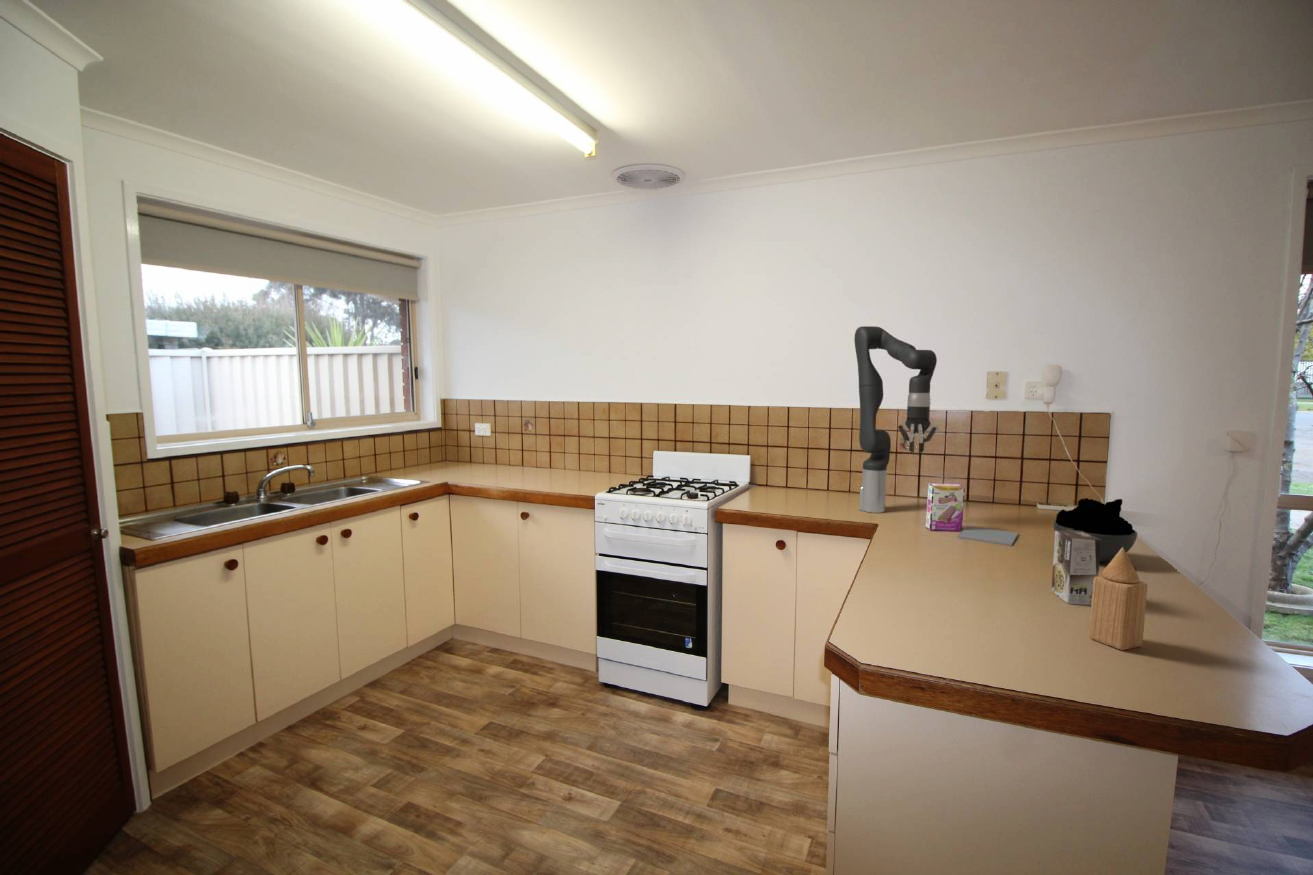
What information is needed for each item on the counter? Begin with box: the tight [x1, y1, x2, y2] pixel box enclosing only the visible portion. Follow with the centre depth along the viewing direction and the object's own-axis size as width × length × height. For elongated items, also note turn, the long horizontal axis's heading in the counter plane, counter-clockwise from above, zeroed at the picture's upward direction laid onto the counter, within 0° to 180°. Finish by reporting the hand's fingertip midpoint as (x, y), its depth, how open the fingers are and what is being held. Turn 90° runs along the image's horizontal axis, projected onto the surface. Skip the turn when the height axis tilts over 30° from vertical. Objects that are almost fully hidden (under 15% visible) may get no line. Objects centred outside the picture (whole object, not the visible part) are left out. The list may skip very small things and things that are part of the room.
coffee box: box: [1051, 530, 1101, 606], centre depth 144 cm, size 9×6×16 cm
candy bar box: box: [925, 483, 966, 532], centre depth 211 cm, size 11×5×16 cm, turn 84°
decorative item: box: [1088, 547, 1148, 651], centre depth 120 cm, size 7×7×20 cm
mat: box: [956, 525, 1019, 547], centre depth 204 cm, size 16×18×1 cm
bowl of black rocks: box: [1053, 497, 1138, 563], centre depth 176 cm, size 20×20×19 cm
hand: (916, 452), depth 216 cm, fingers closed
